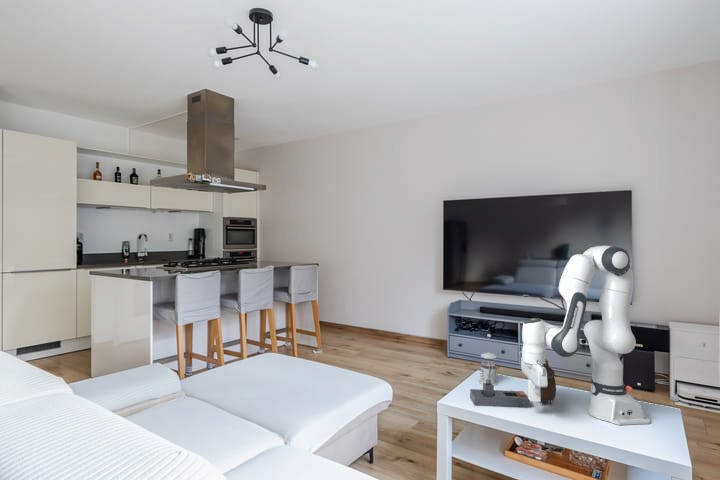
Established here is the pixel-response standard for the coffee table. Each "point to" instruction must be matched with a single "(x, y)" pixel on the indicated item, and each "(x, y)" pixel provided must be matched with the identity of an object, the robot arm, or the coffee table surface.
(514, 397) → the strip
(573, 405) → the coffee table surface
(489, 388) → the twin plug
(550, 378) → the alarm clock
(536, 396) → the white rectangular bottle
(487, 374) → the french press
